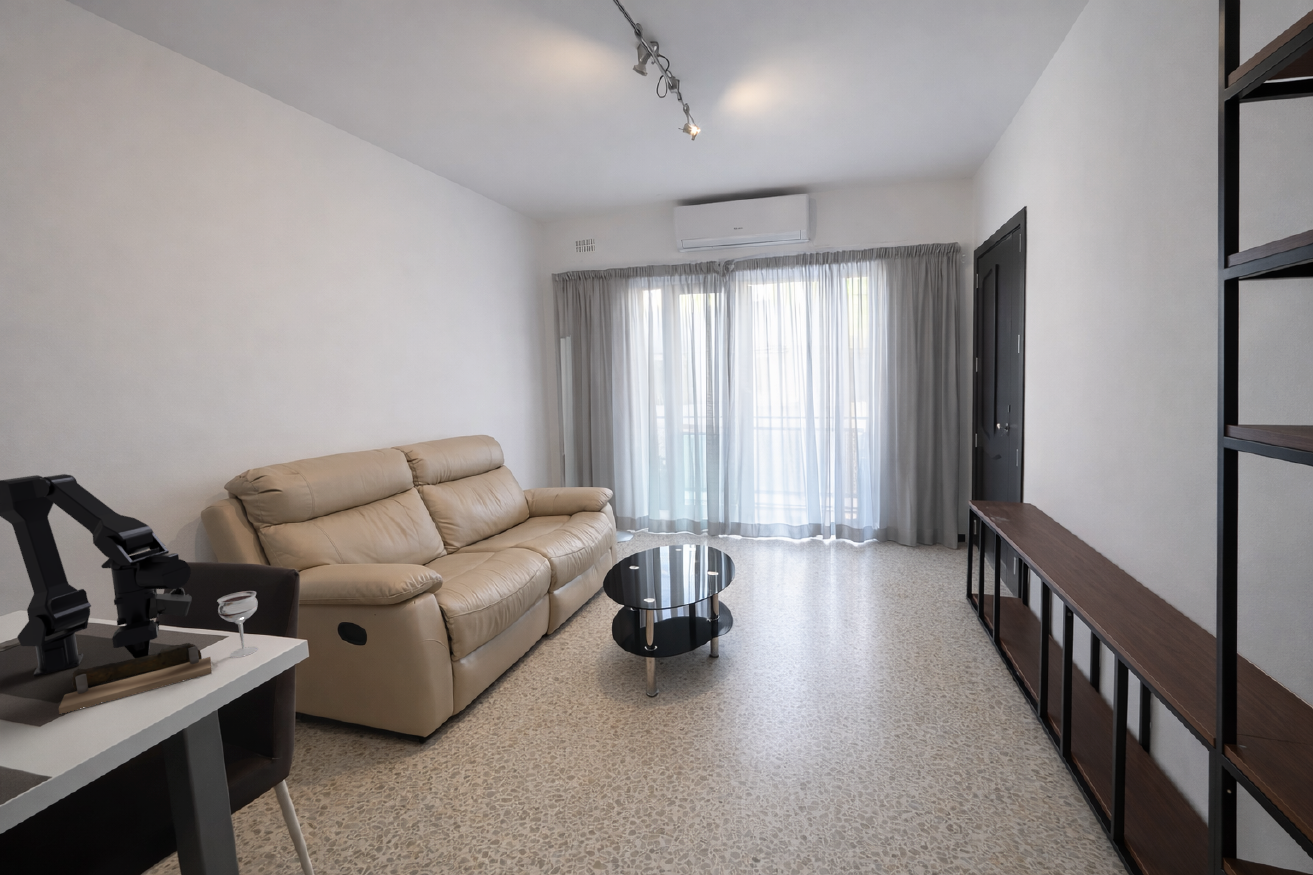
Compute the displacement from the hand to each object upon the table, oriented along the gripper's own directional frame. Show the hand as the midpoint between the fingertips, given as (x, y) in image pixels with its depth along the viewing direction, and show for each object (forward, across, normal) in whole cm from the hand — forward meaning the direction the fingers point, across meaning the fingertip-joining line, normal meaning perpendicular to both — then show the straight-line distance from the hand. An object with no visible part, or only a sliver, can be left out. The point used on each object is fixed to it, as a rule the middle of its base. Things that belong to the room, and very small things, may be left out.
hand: (144, 663), depth 117 cm
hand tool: (+2, -3, 0) cm, 3 cm away
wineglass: (+1, -6, -16) cm, 17 cm away
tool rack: (+1, -10, 0) cm, 10 cm away
